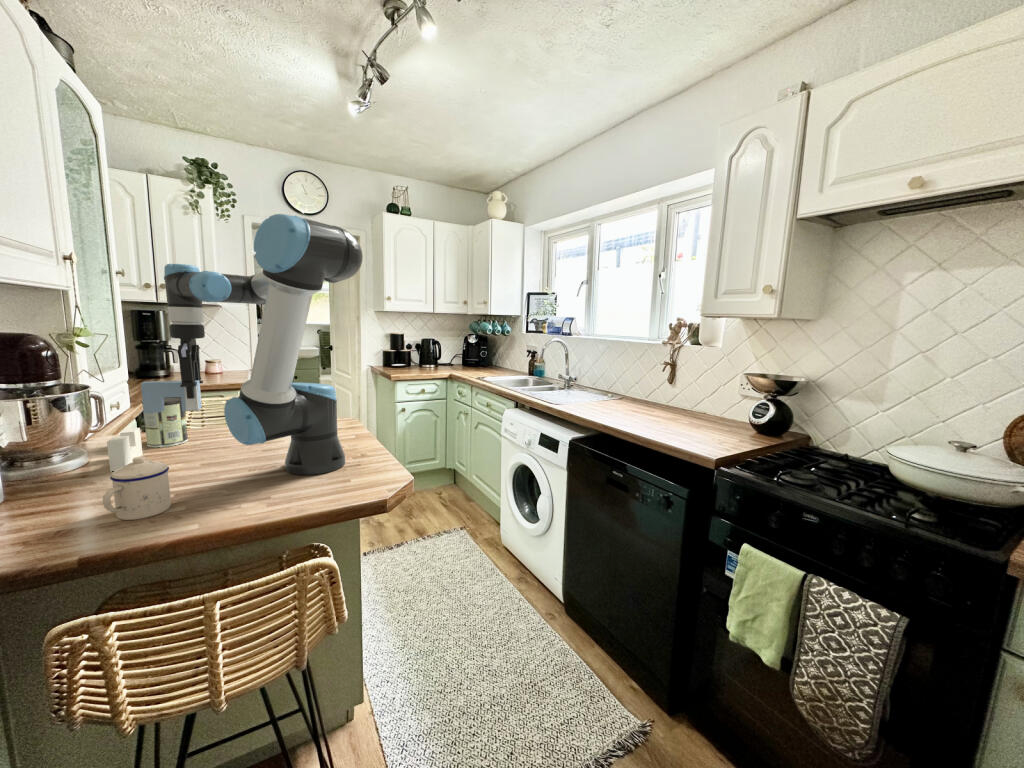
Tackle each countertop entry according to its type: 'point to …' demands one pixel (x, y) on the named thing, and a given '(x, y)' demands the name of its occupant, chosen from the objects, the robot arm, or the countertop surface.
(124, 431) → the white notched slab
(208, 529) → the countertop surface
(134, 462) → the teacup with lid
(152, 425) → the coffee can
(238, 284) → the robot arm
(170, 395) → the light blue flat block
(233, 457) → the countertop surface
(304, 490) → the countertop surface
